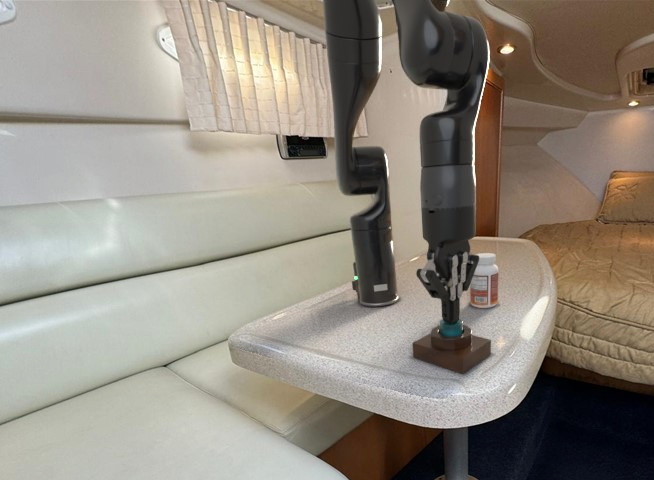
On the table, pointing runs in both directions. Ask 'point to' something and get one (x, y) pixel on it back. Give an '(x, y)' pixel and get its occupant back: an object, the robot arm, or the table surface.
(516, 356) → the table surface
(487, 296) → the pill bottle
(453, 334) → the teal push button
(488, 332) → the table surface
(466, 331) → the push button base
